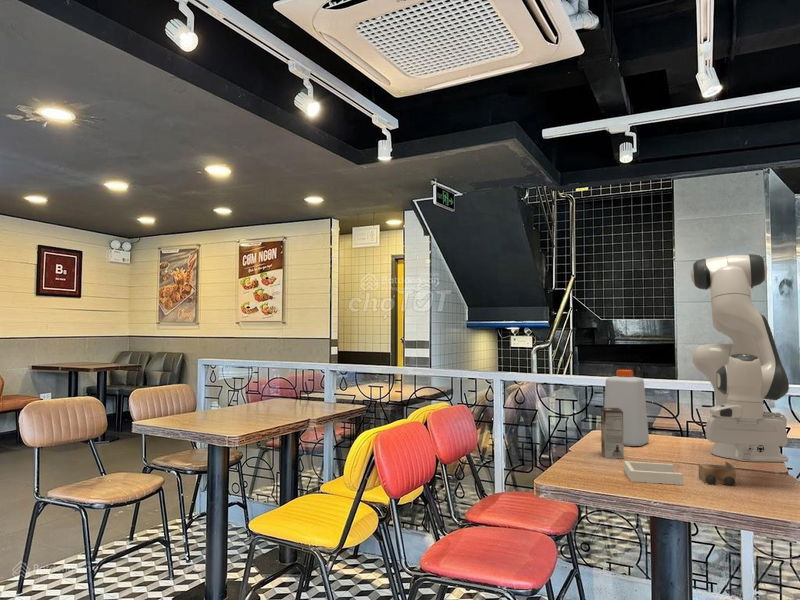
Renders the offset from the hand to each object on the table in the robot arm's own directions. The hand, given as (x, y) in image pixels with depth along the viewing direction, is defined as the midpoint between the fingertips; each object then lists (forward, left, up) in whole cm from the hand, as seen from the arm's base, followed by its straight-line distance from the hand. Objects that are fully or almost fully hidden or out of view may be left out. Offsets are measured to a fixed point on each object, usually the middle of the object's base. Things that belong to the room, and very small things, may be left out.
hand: (746, 460), depth 162 cm
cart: (+8, -1, -7) cm, 10 cm away
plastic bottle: (+25, -55, -7) cm, 60 cm away
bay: (+25, -1, -7) cm, 25 cm away
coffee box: (+33, -29, -7) cm, 44 cm away
